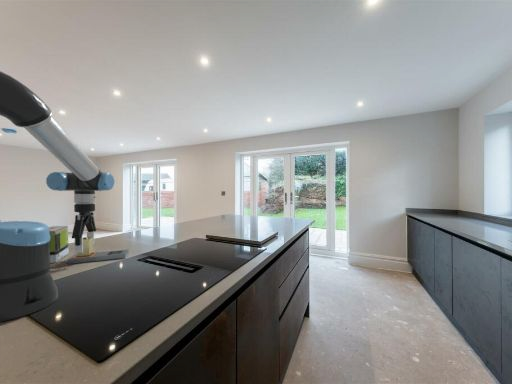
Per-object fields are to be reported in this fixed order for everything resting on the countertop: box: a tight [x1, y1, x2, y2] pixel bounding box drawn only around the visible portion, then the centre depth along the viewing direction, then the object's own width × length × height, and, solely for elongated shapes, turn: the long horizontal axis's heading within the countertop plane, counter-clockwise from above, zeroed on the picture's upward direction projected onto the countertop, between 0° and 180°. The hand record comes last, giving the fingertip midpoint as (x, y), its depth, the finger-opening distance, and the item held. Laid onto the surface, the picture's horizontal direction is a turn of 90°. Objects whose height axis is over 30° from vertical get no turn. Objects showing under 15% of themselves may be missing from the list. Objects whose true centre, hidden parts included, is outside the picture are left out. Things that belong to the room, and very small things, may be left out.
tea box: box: [48, 225, 70, 264], centre depth 98 cm, size 15×10×15 cm
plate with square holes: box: [67, 249, 130, 265], centre depth 99 cm, size 8×22×2 cm, turn 111°
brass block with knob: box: [76, 236, 94, 257], centre depth 97 cm, size 4×4×10 cm
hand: (85, 248), depth 97 cm, fingers open, 13 cm apart
